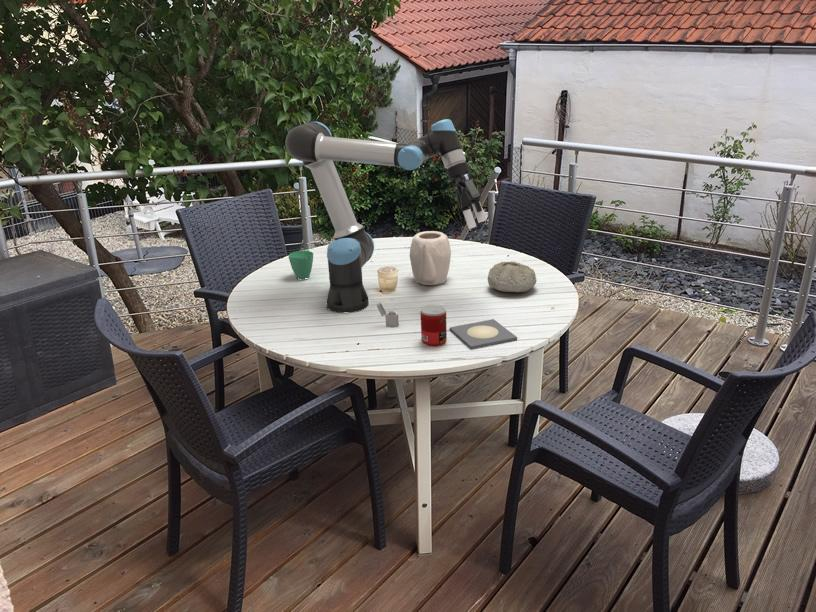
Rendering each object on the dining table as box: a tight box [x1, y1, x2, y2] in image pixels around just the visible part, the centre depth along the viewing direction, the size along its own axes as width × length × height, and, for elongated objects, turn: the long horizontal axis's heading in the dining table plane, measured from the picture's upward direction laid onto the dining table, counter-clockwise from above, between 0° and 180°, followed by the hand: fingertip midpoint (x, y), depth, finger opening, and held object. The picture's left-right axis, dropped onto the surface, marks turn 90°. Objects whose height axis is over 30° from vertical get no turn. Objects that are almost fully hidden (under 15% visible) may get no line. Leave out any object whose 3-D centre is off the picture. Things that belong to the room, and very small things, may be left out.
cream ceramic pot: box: [409, 230, 452, 286], centre depth 263 cm, size 16×27×19 cm, turn 169°
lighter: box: [375, 302, 400, 328], centre depth 227 cm, size 7×2×8 cm, turn 77°
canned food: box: [420, 304, 448, 347], centre depth 213 cm, size 8×8×11 cm
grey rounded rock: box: [487, 260, 537, 293], centre depth 254 cm, size 18×18×10 cm
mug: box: [288, 248, 314, 279], centre depth 277 cm, size 15×10×10 cm
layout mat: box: [449, 318, 518, 350], centre depth 218 cm, size 16×16×1 cm
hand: (477, 224), depth 231 cm, fingers open, 13 cm apart
